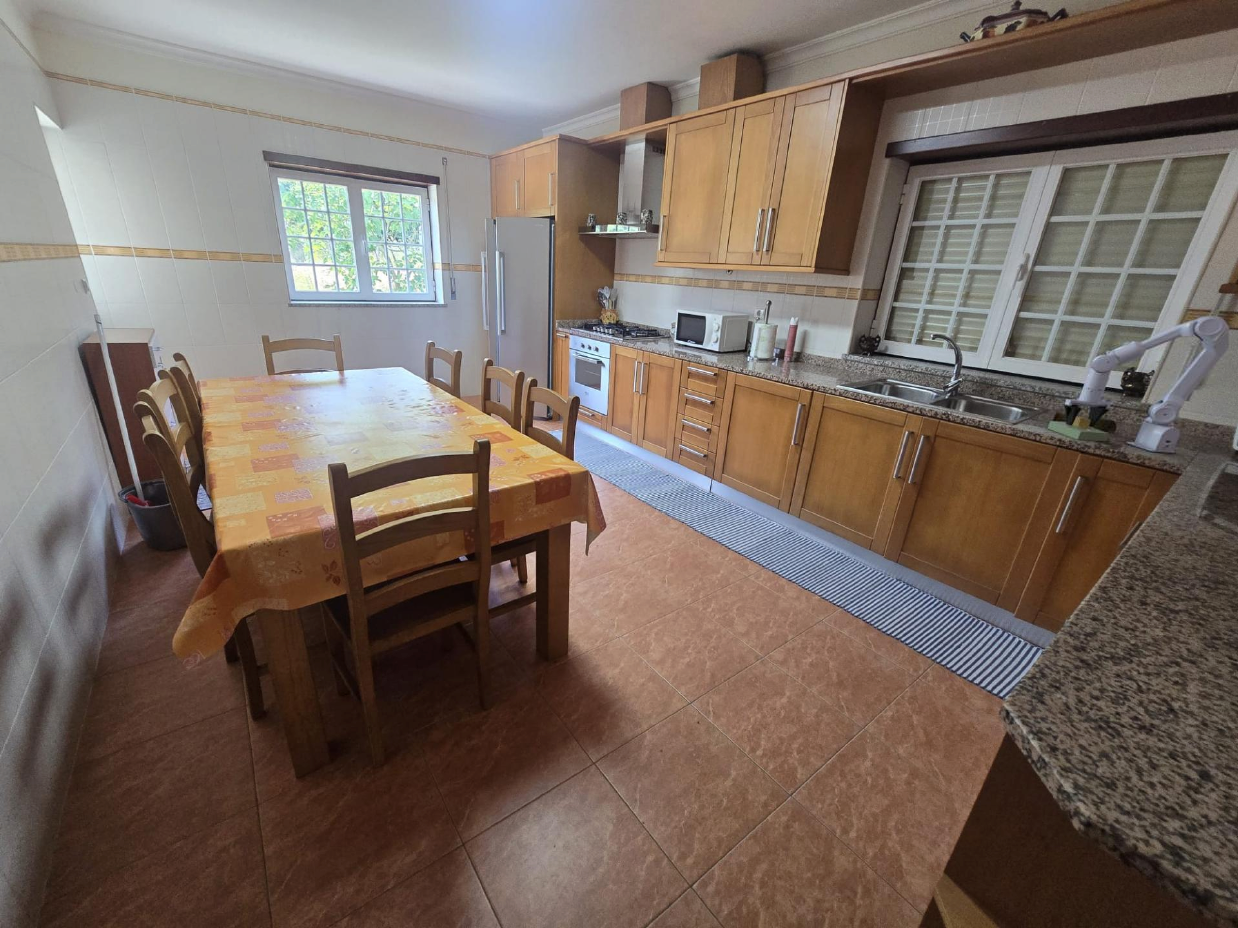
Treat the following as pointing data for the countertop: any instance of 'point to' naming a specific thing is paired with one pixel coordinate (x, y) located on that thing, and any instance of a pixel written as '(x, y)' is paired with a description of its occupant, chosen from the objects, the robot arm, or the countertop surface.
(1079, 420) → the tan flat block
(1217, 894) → the countertop surface
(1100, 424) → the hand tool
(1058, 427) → the green flat block
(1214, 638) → the countertop surface
